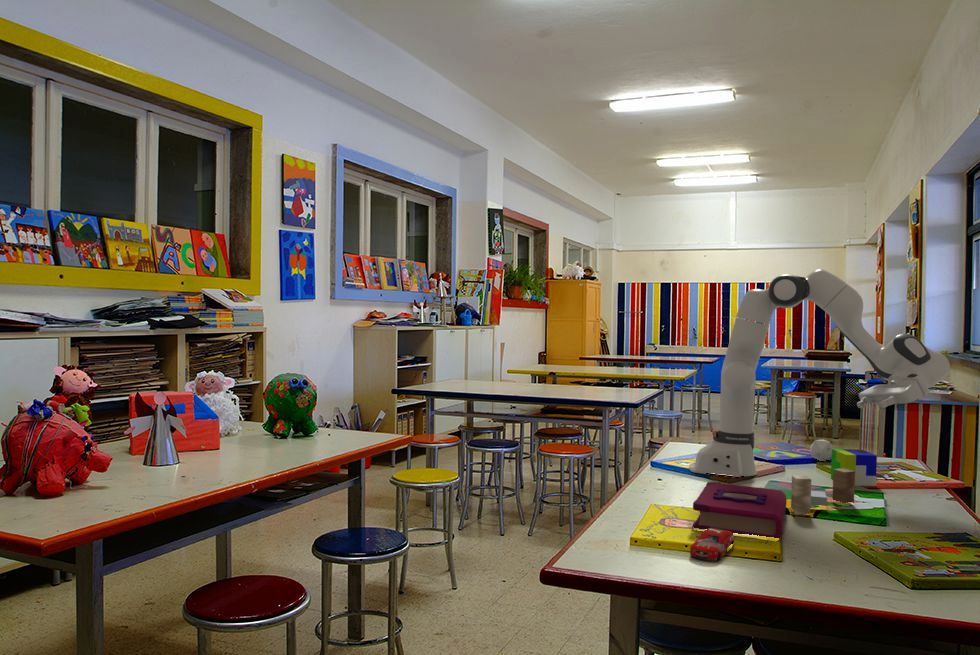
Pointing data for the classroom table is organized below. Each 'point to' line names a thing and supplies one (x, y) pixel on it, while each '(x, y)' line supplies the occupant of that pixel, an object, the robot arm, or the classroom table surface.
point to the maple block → (801, 494)
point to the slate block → (818, 498)
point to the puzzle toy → (856, 465)
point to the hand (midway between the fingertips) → (869, 405)
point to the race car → (712, 544)
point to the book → (741, 509)
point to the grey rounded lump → (821, 450)
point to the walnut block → (843, 485)
